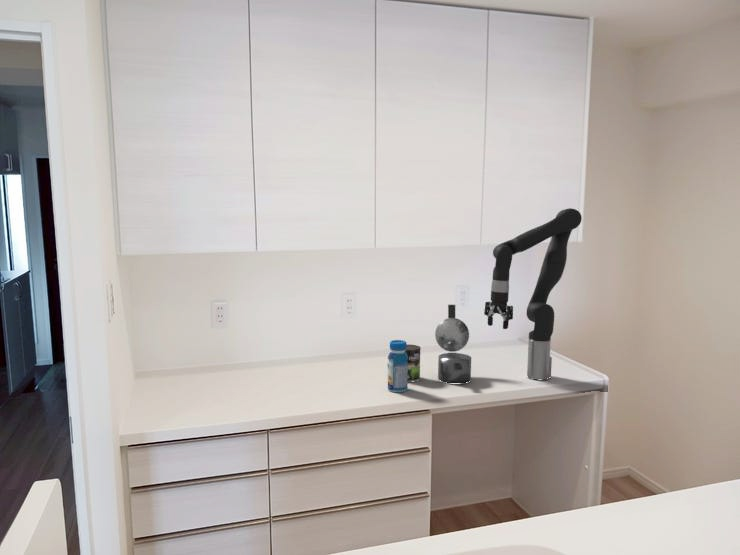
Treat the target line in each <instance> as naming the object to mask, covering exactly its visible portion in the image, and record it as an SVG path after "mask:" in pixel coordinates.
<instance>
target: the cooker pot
mask: <svg viewBox="0 0 740 555" xmlns="http://www.w3.org/2000/svg"><path fill="white" fill-rule="evenodd" d="M437 366H438V367H437V370H438V371H437V373H438V374H437V380H438V379H439V380H441V381H443V382H447V383H466V382H469V381H470V380H472V379H471V378H472V356H470V355H468V354H465V353H459V352H458V353H457V352H445V353H441V354H439V355H438V360H437ZM439 380H438V381H439ZM443 382H442V383H443ZM470 382H471V381H470ZM470 382H469V383H470Z"/></svg>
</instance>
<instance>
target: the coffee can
mask: <svg viewBox="0 0 740 555" xmlns="http://www.w3.org/2000/svg"><path fill="white" fill-rule="evenodd" d="M405 352H406V354H407V356H408V360H407V362H408V383H412V382H411V381H416V382H418V381H417V380H419V379H420V380H421V346H420V345H416V344H407V343H406V350H405ZM420 380H419V381H420Z"/></svg>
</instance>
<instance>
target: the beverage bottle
mask: <svg viewBox="0 0 740 555" xmlns="http://www.w3.org/2000/svg"><path fill="white" fill-rule="evenodd" d="M406 345H407V341H405V340H401V339H393V340H390V341H389V350H390V352H389V354H388V356H387V359H388V362H387V391H390V392H393V393H404V392H407V391H408V389H409V388H408V384H409V382H408V362H407V360H408V356H407V354H406V352H405V350H406Z"/></svg>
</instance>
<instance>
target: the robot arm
mask: <svg viewBox="0 0 740 555" xmlns="http://www.w3.org/2000/svg"><path fill="white" fill-rule="evenodd" d="M582 218H583V216H582V214H581V212H580V211H579V210H577V209H576V208H570V207H569V208H565V209H562V210H560V211H559V212H558V213H557V215H556V216H555V217H554V218H553V219H551V220H550V221H548V222H546V223H544V224H541V225H539V226H537V227H534V228H532V229H529V230H527V231H525V232H523V233H520V234H519V235H518V236H517V235H516V236H515V237H514V238H511V239H509V240H506V241H504V242H501V243H500V244H497V245H496V246H494V248H493V251H492V255H493V257H494V259H495V266H494V268H493V269H492V270H493V271H492V281H491V289H490V301H486V302H485V304H484V305H485V306H484V312H483V314H484V315H485V316H486V317H487V325H488V326H493V322H494V315H495V314H498V315H500V316H501V317H502V319H503V320H502V329H503V330H507V329H508V328H509V321H511V320H513V318H514V305H508V303H509V292H510V270H511V265H512V260H513V256H514V255H516V254H518V253H523V252H525V251H527V250H529V249H531V248H533V247H535V246H537V245H538V244H540V243H542V242H544V241H546V240H547V239H550V241H549V242H548V243H549V244H548V247H547V249H546V252H545V256H544V258H543V261H542V265H541V268H540V272H539V276H538V277H537V278H538V279H537V281H536V285H535V288H534V290H533V292H532V296H531V297H530V300H529V302H528V305H527V307H526V318H527V320H529V321H531V322H532V323H534V325H533V326H534V327H533V330H530V331H529V333H528V340H527V341H528V344H527V346H528V348H527V370H526V377H527V376H528V377H530V378H533V379H547V378H549V377H551V378H552V364H553V363H552V362H553V361H552V360H553V359H552V356H551V340H552V335H553V334H554V325H555V310H554V307H553V306H552V305H550V304H548V303H547V302H548V299H549V295H550V293H551V292H552V290H553V289H554V288H555V286H556V285H557V284H558V283H559V282H560V280H561V279H562V276H563V274H564V271H565V267H566V263H567V258H568V257H567V256H568V254H567V253H568V242H569V240H570V236H571V234H572V232H573V230H575V229H577V228H578V227H579V226H580V225H581V223H582ZM528 377H527V378H528ZM530 378H529V379H530ZM533 379H532V380H533ZM547 380H548V379H547Z"/></svg>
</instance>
